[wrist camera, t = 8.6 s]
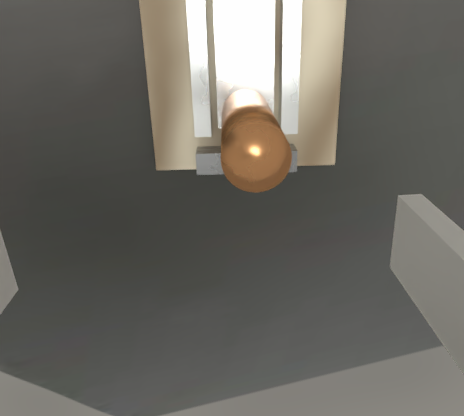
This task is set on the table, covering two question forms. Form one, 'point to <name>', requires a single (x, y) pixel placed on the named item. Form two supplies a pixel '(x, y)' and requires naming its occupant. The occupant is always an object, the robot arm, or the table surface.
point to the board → (180, 90)
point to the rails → (200, 79)
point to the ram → (248, 95)
